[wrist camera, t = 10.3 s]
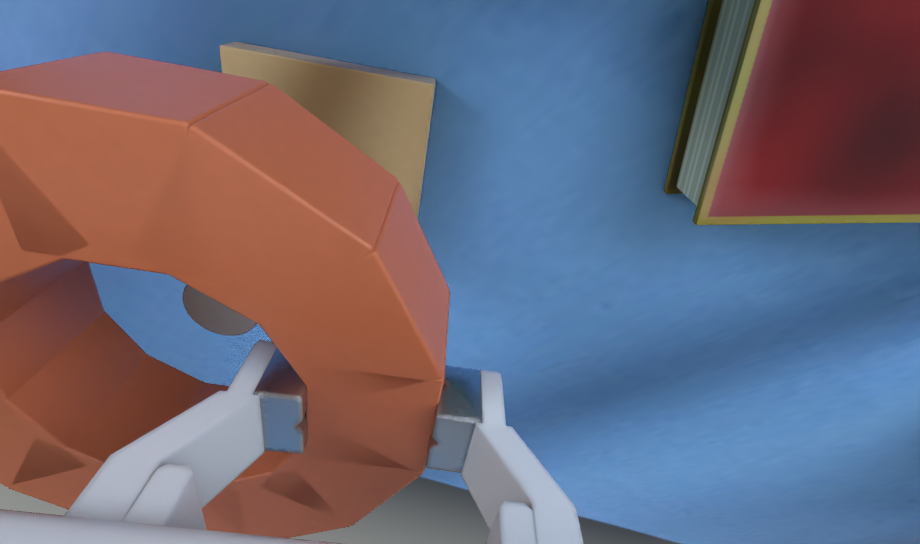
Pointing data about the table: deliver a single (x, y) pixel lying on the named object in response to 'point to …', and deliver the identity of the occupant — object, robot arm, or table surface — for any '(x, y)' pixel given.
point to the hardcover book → (802, 114)
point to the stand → (336, 128)
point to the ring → (209, 282)
